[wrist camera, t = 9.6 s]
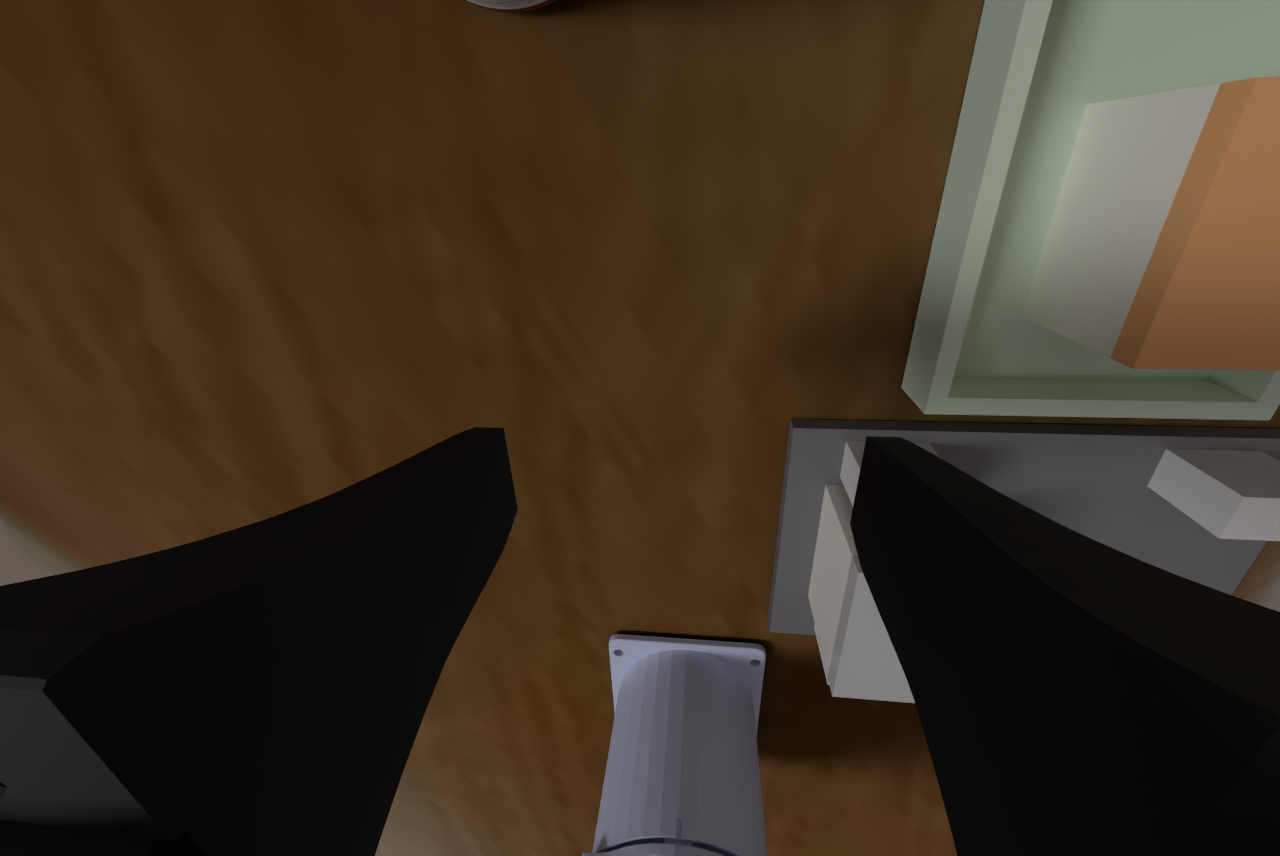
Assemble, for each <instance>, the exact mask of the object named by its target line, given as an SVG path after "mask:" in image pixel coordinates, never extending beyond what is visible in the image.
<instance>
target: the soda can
mask: <svg viewBox="0 0 1280 856" xmlns="http://www.w3.org/2000/svg"><path fill="white" fill-rule="evenodd" d="M465 1H467V2H469V3H471V4H474V5H476V6H478V7H481V8H485V9H488V10H492V11H497V12H506V13H517V12H526V11H531V10H536V9H538V8H541V7H544V6H547V5H549V4H551V3H553V2H555V1H557V0H465Z"/></svg>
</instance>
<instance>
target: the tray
mask: <svg viewBox="0 0 1280 856" xmlns="http://www.w3.org/2000/svg"><path fill="white" fill-rule="evenodd" d="M1277 76H1280V0H985V3H984V7H983V12H982V16H981V21H980V26H979V30H978V35H977V40H976V44H975V49H974V53H973V58H972V63H971V67H970V72H969V77H968V81H967V86H966V90H965V95H964V100H963V104H962V109H961V114H960V118H959V123H958V127H957V132H956V137H955V141H954V146H953V151H952V155H951V160H950V164H949V169H948V174H947V178H946V183H945V188H944V192H943V197H942V201H941V206H940V211H939V215H938V220H937V225H936V229H935V234H934V238H933V243H932V248H931V252H930V257H929V262H928V266H927V271H926V275H925V280H924V285H923V289H922V294H921V299H920V303H919V308H918V312H917V317H916V322H915V326H914V331H913V336H912V340H911V345H910V349H909V354H908V359H907V363H906V368H905V373H904V377H903V382H902V386H901V388H902V389H903V390H904V391H905V392H906V394H907V395H908V396H909V397H910V398H911V399H912V400H913V402H914V403H915V404H916V405H917V406H918V407H919V408H920V410H921V411H922V412H923V413H924V414H945V415H1000V416H1055V417H1110V418H1165V419H1219V420H1271V418H1272V416H1273V415H1274V413H1275V411H1276V410H1277V408H1278V406H1279V404H1280V370H1207V369H1132V368H1129V367H1127V366H1125V365H1123V364H1121V363H1119V362H1117V361H1115V360H1113V359H1111V358H1109V357H1107V356H1104V355H1102V354H1100V353H1098V352H1096V351H1094V350H1092V349H1090V348H1088V347H1086V346H1084V345H1082V344H1080V343H1077V342H1075V341H1073V340H1071V339H1069V338H1067V337H1065V336H1063V335H1061V334H1059V333H1057V332H1055V331H1052V330H1050V329H1048V328H1046V327H1044V326H1042V325H1040V324H1038V323H1036V322H1034V321H1032V320H1030V319H1027V318H1025V317H1023V316H1022V314H1023V311H1024V308H1025V305H1026V301H1027V298H1028V295H1029V292H1030V288H1031V285H1032V282H1033V279H1034V276H1035V272H1036V269H1037V266H1038V263H1039V259H1040V256H1041V253H1042V250H1043V246H1044V243H1045V240H1046V237H1047V233H1048V230H1049V227H1050V224H1051V220H1052V217H1053V214H1054V211H1055V208H1056V204H1057V201H1058V198H1059V195H1060V191H1061V188H1062V185H1063V182H1064V178H1065V175H1066V172H1067V169H1068V165H1069V162H1070V159H1071V156H1072V153H1073V149H1074V146H1075V143H1076V140H1077V136H1078V133H1079V130H1080V127H1081V123H1082V120H1083V117H1084V114H1085V110H1086V107H1087V104H1091V103H1097V102H1104V101H1110V100H1116V99H1123V98H1129V97H1136V96H1142V95H1149V94H1155V93H1161V92H1168V91H1174V90H1181V89H1187V88H1193V87H1200V86H1206V85H1213V84H1219V83H1226V82H1232V81H1238V80H1245V79H1251V78H1258V77H1277Z"/></svg>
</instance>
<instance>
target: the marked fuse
mask: <svg viewBox="0 0 1280 856" xmlns="http://www.w3.org/2000/svg"><path fill="white" fill-rule="evenodd" d="M1022 316H1023V317H1025V318H1027V319H1030V320H1032V321H1034V322H1036V323H1038V324H1040V325H1042V326H1044V327H1046V328H1048V329H1050V330H1052V331H1055V332H1057V333H1059V334H1061V335H1063V336H1065V337H1067V338H1069V339H1071V340H1073V341H1075V342H1077V343H1080V344H1082V345H1084V346H1086V347H1088V348H1090V349H1092V350H1094V351H1096V352H1098V353H1100V354H1102V355H1104V356H1107V357H1109V358H1111V359H1113V360H1115V361H1117V362H1119V363H1121V364H1123V365H1125V366H1127V367H1129V368H1132V369H1207V370H1280V76H1277V77H1258V78H1251V79H1245V80H1238V81H1232V82H1226V83H1219V84H1213V85H1206V86H1200V87H1193V88H1187V89H1181V90H1174V91H1168V92H1161V93H1155V94H1149V95H1142V96H1136V97H1129V98H1123V99H1116V100H1110V101H1104V102H1097V103H1091V104H1087V107H1086V110H1085V114H1084V117H1083V120H1082V123H1081V127H1080V130H1079V133H1078V136H1077V140H1076V143H1075V146H1074V149H1073V153H1072V156H1071V159H1070V162H1069V165H1068V169H1067V172H1066V175H1065V178H1064V182H1063V185H1062V188H1061V191H1060V195H1059V198H1058V201H1057V204H1056V208H1055V211H1054V214H1053V217H1052V220H1051V224H1050V227H1049V230H1048V233H1047V237H1046V240H1045V243H1044V246H1043V250H1042V253H1041V256H1040V259H1039V263H1038V266H1037V269H1036V272H1035V276H1034V279H1033V282H1032V285H1031V288H1030V292H1029V295H1028V298H1027V301H1026V305H1025V308H1024V311H1023V314H1022Z"/></svg>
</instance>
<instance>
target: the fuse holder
mask: <svg viewBox="0 0 1280 856" xmlns="http://www.w3.org/2000/svg"><path fill="white" fill-rule="evenodd" d="M867 436H872V437H901V438H903V439H906V440H908V441H910V442H912V443H914V444H916V445H918V446H920V447H922V448H923V449H925V450H927V451H929V452H931V453H932V454H934V455H936V456H938V457H939V458H941V459H943V460H944V461H946V462H948V463H950V464H951V465H953V466H955V467H956V468H958V469H960V470H962V471H963V472H965V473H967V474H968V475H970V476H972V477H974V478H975V479H977V480H979V481H981V482H982V483H984V484H986V485H988V486H989V487H991V488H993V489H995V490H996V491H998V492H1000V493H1002V494H1004V495H1005V496H1007V497H1009V498H1011V499H1013V500H1015V501H1016V502H1018V503H1020V504H1022V505H1024V506H1026V507H1028V508H1030V509H1032V510H1034V511H1036V512H1038V513H1039V514H1041V515H1043V516H1045V517H1047V518H1049V519H1051V520H1053V521H1055V522H1057V523H1059V524H1061V525H1063V526H1065V527H1067V528H1069V529H1071V530H1074V531H1076V532H1078V533H1080V534H1082V535H1084V536H1086V537H1089V538H1091V539H1093V540H1095V541H1098V542H1100V543H1102V544H1104V545H1107V546H1109V547H1111V548H1113V549H1116V550H1118V551H1120V552H1123V553H1125V554H1127V555H1129V556H1132V557H1134V558H1136V559H1139V560H1141V561H1143V562H1146V563H1148V564H1151V565H1153V566H1156V567H1158V568H1161V569H1163V570H1166V571H1168V572H1171V573H1173V574H1176V575H1178V576H1181V577H1184V578H1186V579H1189V580H1192V581H1194V582H1197V583H1200V584H1202V585H1205V586H1208V587H1210V588H1213V589H1216V590H1218V591H1221V592H1224V593H1226V594H1229V595H1232V594H1233V592H1234V591H1235V589H1236V588H1237V586H1238V585H1239V583H1240V582H1241V580H1242V579H1243V577H1244V576H1245V574H1246V573H1247V571H1248V570H1249V568H1250V567H1251V565H1252V564H1253V562H1254V561H1255V559H1256V558H1257V556H1258V555H1259V553H1260V552H1261V550H1262V549H1263V547H1264V546H1265V544H1266V543H1267V541H1280V429H1269V428H1219V427H1168V426H1118V425H1067V424H1017V423H966V422H916V421H866V420H815V419H790V428H789V437H788V446H787V455H786V463H785V472H784V481H783V490H782V499H781V508H780V517H779V525H778V534H777V543H776V552H775V561H774V570H773V578H772V587H771V596H770V605H769V614H768V623H769V630H770V632H776V633H791V634H806V635H816V638H817V642H818V647H819V651H820V655H821V659H822V664H823V668H824V672H825V676H826V681H827V685H829V681H828V677H827V673H826V669H825V664H824V660H823V656H822V652H821V648H820V643H819V639H818V635H817V631H816V627H815V622H814V618H813V614H812V610H811V606H810V601H809V597H808V592H809V586H810V580H811V573H812V567H813V561H814V555H815V548H816V542H817V536H818V529H819V523H820V517H821V510H822V504H823V498H824V491H825V485H844V487H845V489H846V492H847V494H848V496H849V499H850V501H851V503H852V506H853V504H854V499H855V494H856V489H857V483H858V478H859V473H860V468H861V463H862V457H863V452H864V447H865V442H866V437H867Z"/></svg>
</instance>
